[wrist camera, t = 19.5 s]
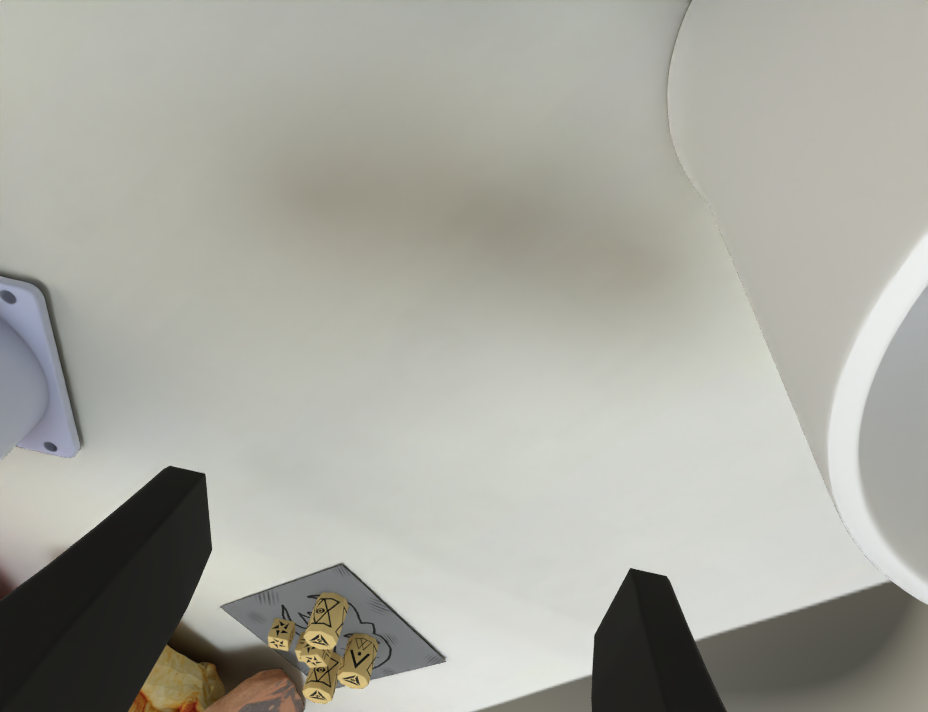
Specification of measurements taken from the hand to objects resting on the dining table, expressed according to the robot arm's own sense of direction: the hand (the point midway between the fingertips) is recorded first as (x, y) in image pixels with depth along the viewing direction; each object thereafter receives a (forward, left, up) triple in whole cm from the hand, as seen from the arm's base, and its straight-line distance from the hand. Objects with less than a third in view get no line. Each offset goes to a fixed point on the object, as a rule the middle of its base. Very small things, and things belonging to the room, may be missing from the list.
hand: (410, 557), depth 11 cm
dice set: (-3, -21, -10) cm, 24 cm away
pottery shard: (-9, -28, -7) cm, 30 cm away
